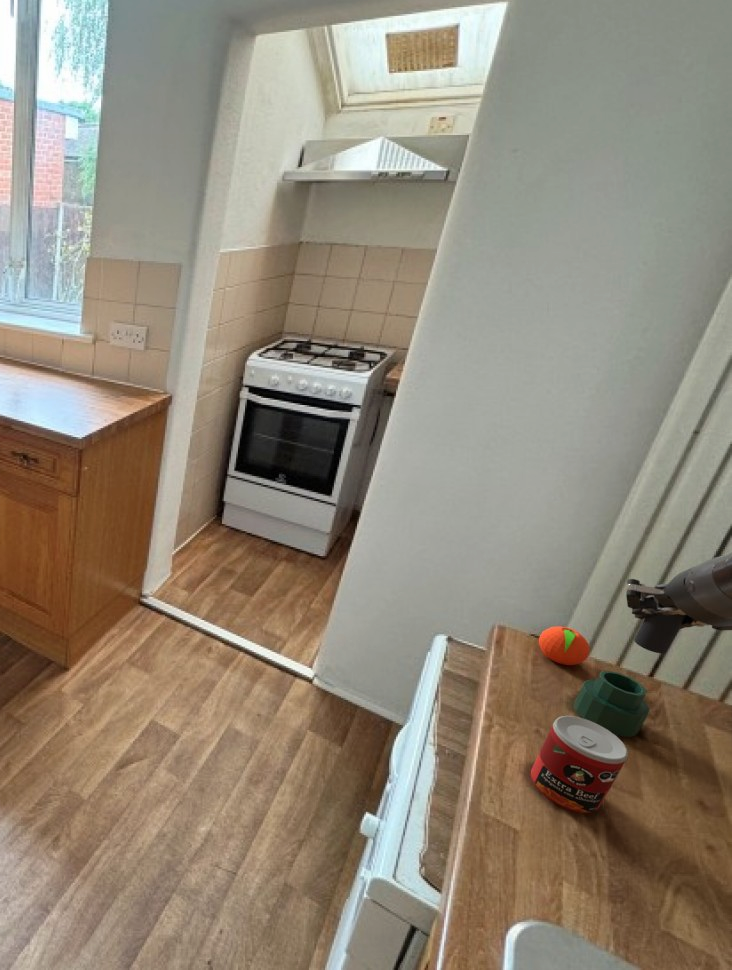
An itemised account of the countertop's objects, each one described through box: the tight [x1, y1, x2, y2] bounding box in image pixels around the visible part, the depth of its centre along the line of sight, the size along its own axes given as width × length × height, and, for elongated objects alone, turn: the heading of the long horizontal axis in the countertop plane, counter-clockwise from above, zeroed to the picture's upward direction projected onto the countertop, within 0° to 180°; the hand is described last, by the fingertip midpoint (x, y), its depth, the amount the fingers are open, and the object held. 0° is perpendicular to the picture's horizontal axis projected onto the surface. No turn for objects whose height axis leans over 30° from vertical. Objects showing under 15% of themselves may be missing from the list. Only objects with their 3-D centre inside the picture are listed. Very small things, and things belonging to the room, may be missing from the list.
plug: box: [634, 614, 687, 654], centre depth 88 cm, size 3×3×8 cm
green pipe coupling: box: [573, 670, 651, 738], centre depth 100 cm, size 8×8×8 cm
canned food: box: [530, 715, 629, 814], centre depth 87 cm, size 8×8×11 cm
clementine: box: [538, 626, 591, 666], centre depth 113 cm, size 8×7×7 cm
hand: (656, 616), depth 89 cm, fingers closed on plug, 3 cm apart
